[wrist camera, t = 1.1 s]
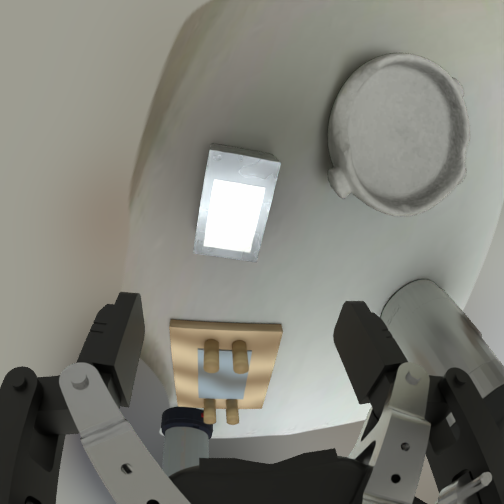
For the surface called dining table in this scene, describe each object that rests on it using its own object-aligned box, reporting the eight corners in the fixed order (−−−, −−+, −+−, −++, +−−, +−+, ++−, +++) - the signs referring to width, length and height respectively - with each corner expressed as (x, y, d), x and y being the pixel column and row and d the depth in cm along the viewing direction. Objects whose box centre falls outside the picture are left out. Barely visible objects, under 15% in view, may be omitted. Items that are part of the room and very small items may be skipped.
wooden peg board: (170, 319, 30) (165, 351, 26) (281, 324, 32) (288, 355, 28) (178, 399, 37) (176, 426, 33) (260, 402, 39) (264, 428, 35)
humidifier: (219, 412, 40) (228, 563, 18) (204, 432, 43) (209, 562, 21) (167, 401, 38) (159, 560, 16) (158, 423, 41) (151, 557, 19)
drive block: (272, 154, 23) (281, 163, 20) (251, 240, 27) (256, 262, 23) (211, 142, 22) (209, 149, 19) (197, 231, 26) (193, 253, 22)
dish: (314, 199, 25) (333, 220, 21) (319, 44, 19) (342, 32, 14) (437, 202, 27) (465, 221, 22) (450, 78, 20) (483, 79, 16)
